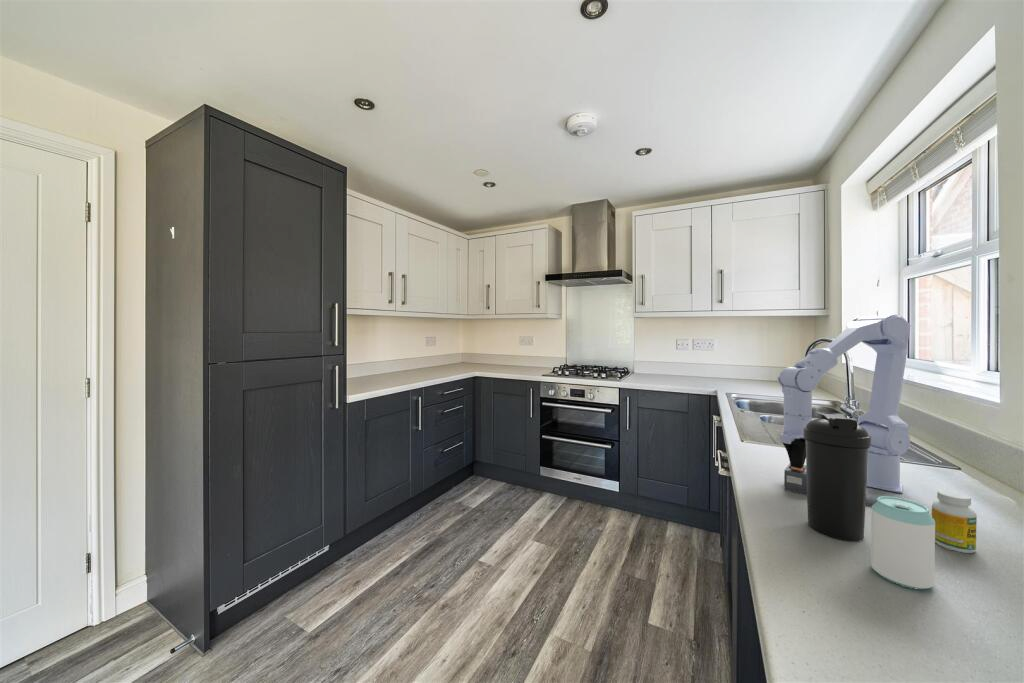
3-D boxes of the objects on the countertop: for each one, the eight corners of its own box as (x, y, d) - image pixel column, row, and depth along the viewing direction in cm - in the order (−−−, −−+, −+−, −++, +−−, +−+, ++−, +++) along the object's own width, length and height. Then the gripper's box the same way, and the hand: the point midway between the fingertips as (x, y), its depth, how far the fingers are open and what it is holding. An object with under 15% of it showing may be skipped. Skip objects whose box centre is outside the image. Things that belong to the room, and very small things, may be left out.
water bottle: (852, 522, 78) (853, 412, 78) (882, 548, 69) (883, 422, 68) (794, 514, 81) (795, 409, 81) (815, 538, 72) (816, 418, 72)
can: (948, 595, 56) (949, 515, 56) (893, 589, 57) (894, 511, 57) (907, 566, 63) (908, 495, 63) (859, 562, 64) (860, 492, 64)
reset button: (792, 480, 98) (792, 464, 98) (803, 482, 96) (803, 466, 96) (790, 482, 96) (790, 466, 96) (802, 485, 94) (802, 469, 94)
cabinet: (790, 481, 100) (790, 462, 100) (816, 486, 97) (816, 467, 96) (784, 489, 95) (784, 470, 95) (811, 496, 91) (812, 475, 91)
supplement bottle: (934, 535, 73) (935, 486, 73) (978, 548, 69) (979, 495, 68) (928, 543, 70) (929, 492, 70) (973, 557, 66) (974, 503, 66)
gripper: (804, 420, 89) (804, 477, 89) (827, 413, 97) (827, 466, 97) (771, 415, 95) (770, 469, 95) (795, 409, 103) (794, 458, 103)
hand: (796, 467), depth 96 cm, fingers closed, pressing on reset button
